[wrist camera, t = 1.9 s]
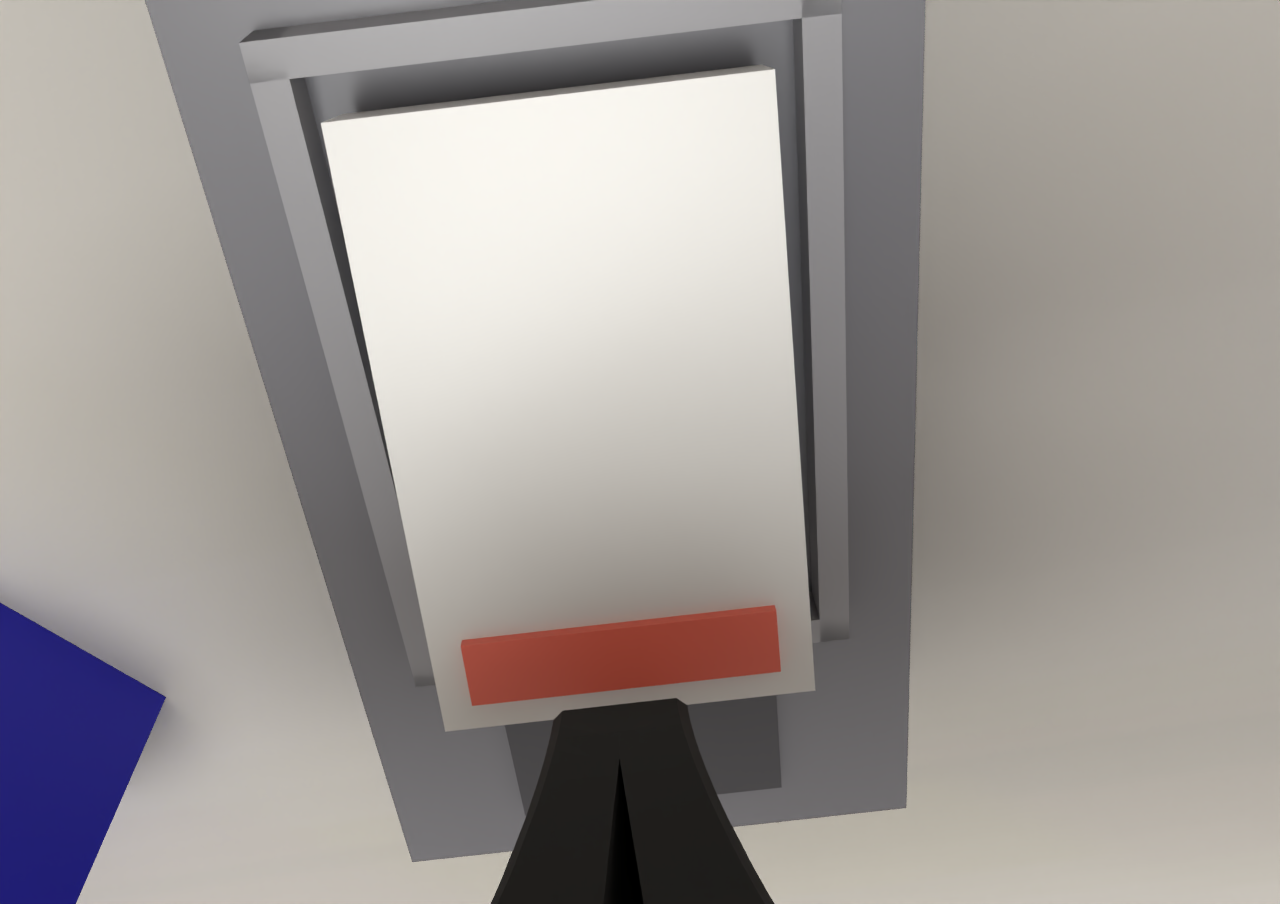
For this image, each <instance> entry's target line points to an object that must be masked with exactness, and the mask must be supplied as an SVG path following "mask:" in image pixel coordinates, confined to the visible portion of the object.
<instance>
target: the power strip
mask: <svg viewBox="0 0 1280 904" xmlns="http://www.w3.org/2000/svg"><path fill="white" fill-rule="evenodd" d="M145 2H146V5H147V8H148V11H149V15H150V18H151V21H152V24H153V27H154V31H155V34H156V37H157V40H158V44H159V47H160V50H161V53H162V57H163V60H164V63H165V66H166V69H167V73H168V76H169V79H170V82H171V86H172V89H173V92H174V95H175V98H176V102H177V105H178V108H179V111H180V115H181V118H182V121H183V124H184V127H185V131H186V134H187V137H188V140H189V144H190V147H191V150H192V153H193V156H194V160H195V163H196V166H197V169H198V173H199V176H200V179H201V182H202V185H203V189H204V192H205V195H206V198H207V202H208V205H209V208H210V211H211V214H212V218H213V221H214V224H215V227H216V231H217V234H218V237H219V240H220V243H221V247H222V250H223V253H224V256H225V260H226V263H227V266H228V269H229V273H230V276H231V279H232V282H233V285H234V289H235V292H236V295H237V298H238V302H239V305H240V308H241V311H242V314H243V318H244V321H245V324H246V327H247V331H248V334H249V337H250V340H251V343H252V347H253V350H254V353H255V356H256V360H257V363H258V366H259V369H260V372H261V376H262V379H263V382H264V385H265V389H266V392H267V395H268V398H269V401H270V405H271V408H272V411H273V414H274V418H275V421H276V424H277V427H278V430H279V434H280V437H281V440H282V443H283V447H284V450H285V453H286V456H287V460H288V463H289V466H290V469H291V472H292V476H293V479H294V482H295V485H296V489H297V492H298V495H299V498H300V501H301V505H302V508H303V511H304V514H305V518H306V521H307V524H308V527H309V530H310V534H311V537H312V540H313V543H314V547H315V550H316V553H317V556H318V559H319V563H320V566H321V569H322V572H323V576H324V579H325V582H326V585H327V588H328V592H329V595H330V598H331V601H332V605H333V608H334V611H335V614H336V617H337V621H338V624H339V627H340V630H341V634H342V637H343V640H344V643H345V647H346V650H347V653H348V656H349V659H350V663H351V666H352V669H353V672H354V676H355V679H356V682H357V685H358V688H359V692H360V695H361V698H362V701H363V705H364V708H365V711H366V714H367V717H368V721H369V724H370V727H371V730H372V734H373V737H374V740H375V743H376V746H377V750H378V753H379V756H380V759H381V763H382V766H383V769H384V772H385V775H386V779H387V782H388V785H389V788H390V792H391V795H392V798H393V801H394V804H395V808H396V811H397V814H398V817H399V821H400V824H401V827H402V830H403V833H404V837H405V840H406V843H407V846H408V850H409V853H410V856H411V859H412V862H417V861H426V860H435V859H445V858H454V857H463V856H472V855H481V854H490V853H499V852H508V851H513V849H514V846H515V844H516V841H517V839H518V836H519V834H520V831H521V828H522V826H523V823H524V821H525V818H526V815H527V812H528V809H529V806H530V803H531V800H532V797H533V795H534V792H535V789H536V786H537V782H538V779H539V776H540V773H541V769H542V766H543V763H544V759H545V755H546V751H547V747H548V744H549V740H550V735H551V730H552V725H553V720H546V721H537V722H528V723H519V724H510V725H501V726H492V727H483V728H474V729H465V730H456V731H447V732H445V728H444V723H443V718H442V713H441V708H440V703H439V698H438V694H437V689H436V684H435V679H434V674H433V669H432V664H431V659H430V654H429V650H428V645H427V640H426V635H425V630H424V625H423V620H422V615H421V611H420V606H419V601H418V596H417V591H416V586H415V581H414V576H413V571H412V567H411V562H410V557H409V552H408V547H407V542H406V537H405V532H404V527H403V523H402V518H401V513H400V508H399V503H398V498H397V493H396V488H395V484H394V479H393V474H392V469H391V464H390V459H389V454H388V449H387V444H386V440H385V435H384V430H383V425H382V420H381V415H380V410H379V405H378V400H377V396H376V391H375V386H374V381H373V376H372V371H371V366H370V361H369V356H368V352H367V347H366V342H365V337H364V332H363V327H362V322H361V317H360V313H359V308H358V303H357V298H356V293H355V288H354V283H353V278H352V273H351V269H350V264H349V259H348V254H347V249H346V244H345V239H344V234H343V229H342V225H341V220H340V215H339V210H338V205H337V200H336V195H335V190H334V185H333V181H332V176H331V171H330V166H329V161H328V156H327V151H326V146H325V142H324V137H323V132H322V127H321V123H322V122H324V121H327V120H329V119H332V118H334V117H337V116H339V115H342V114H347V113H356V112H364V111H372V110H381V109H389V108H398V107H406V106H415V105H423V104H432V103H440V102H449V101H457V100H465V99H474V98H482V97H491V96H499V95H508V94H516V93H525V92H533V91H541V90H550V89H558V88H567V87H575V86H584V85H592V84H601V83H609V82H618V81H626V80H634V79H643V78H651V77H660V76H668V75H677V74H685V73H694V72H702V71H710V70H719V69H727V68H736V67H744V66H753V65H761V64H762V65H765V66H767V67H770V68H773V69H775V77H776V92H777V108H778V123H779V139H780V154H781V169H782V185H783V200H784V216H785V231H786V246H787V262H788V277H789V293H790V308H791V323H792V339H793V354H794V370H795V385H796V400H797V416H798V431H799V447H800V462H801V477H802V493H803V508H804V523H805V539H806V554H807V570H808V585H809V600H810V616H811V631H812V647H813V662H814V677H815V691H807V692H798V693H789V694H780V695H771V696H762V697H753V698H744V699H735V700H726V701H717V702H708V703H699V704H690V705H687V706H688V712H689V717H690V721H691V725H692V729H693V732H694V736H695V739H696V742H697V745H698V748H699V751H700V754H701V756H702V759H703V762H704V764H705V767H706V770H707V772H708V774H709V777H710V779H711V781H712V784H713V786H714V788H715V791H716V793H717V796H718V798H719V800H720V802H721V804H722V806H723V808H724V811H725V813H726V815H727V817H728V819H729V821H730V823H731V825H732V827H736V826H745V825H754V824H764V823H773V822H782V821H791V820H800V819H809V818H818V817H827V816H836V815H846V814H855V813H864V812H873V811H882V810H891V809H900V808H906V798H907V756H908V713H909V671H910V628H911V586H912V543H913V501H914V458H915V416H916V373H917V331H918V288H919V246H920V203H921V161H922V118H923V76H924V33H925V0H145Z"/></svg>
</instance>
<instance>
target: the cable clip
mask: <svg viewBox="0 0 1280 904" xmlns="http://www.w3.org/2000/svg"><path fill="white" fill-rule="evenodd" d="M165 698H166V697H165V696H163V695H161V694H159V693H158V692H156V691H154V690H152V689H151V688H149V687H147V686H145V685H144V684H142V683H140V682H138V681H137V680H135V679H133V678H131V677H130V676H128V675H126V674H124V673H123V672H121V671H119V670H117V669H116V668H114V667H112V666H110V665H109V664H107V663H105V662H103V661H102V660H100V659H98V658H96V657H95V656H93V655H91V654H89V653H87V652H86V651H84V650H82V649H80V648H79V647H77V646H75V645H73V644H72V643H70V642H68V641H66V640H65V639H63V638H61V637H59V636H58V635H56V634H54V633H52V632H51V631H49V630H47V629H45V628H44V627H42V626H40V625H38V624H37V623H35V622H33V621H31V620H30V619H28V618H26V617H24V616H23V615H21V614H19V613H17V612H16V611H14V610H12V609H10V608H9V607H7V606H5V605H3V604H2V603H0V904H76V902H77V899H78V897H79V895H80V893H81V890H82V888H83V886H84V883H85V881H86V879H87V877H88V874H89V872H90V870H91V867H92V865H93V863H94V861H95V858H96V856H97V854H98V851H99V849H100V847H101V845H102V842H103V840H104V838H105V835H106V833H107V831H108V829H109V826H110V824H111V822H112V819H113V817H114V815H115V812H116V810H117V808H118V806H119V803H120V801H121V799H122V796H123V794H124V792H125V790H126V787H127V785H128V783H129V780H130V778H131V776H132V774H133V771H134V769H135V767H136V764H137V762H138V760H139V758H140V755H141V753H142V751H143V748H144V746H145V744H146V742H147V739H148V737H149V735H150V732H151V730H152V728H153V726H154V723H155V721H156V719H157V716H158V714H159V712H160V710H161V707H162V705H163V703H164V700H165Z"/></svg>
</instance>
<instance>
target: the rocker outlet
mask: <svg viewBox="0 0 1280 904" xmlns="http://www.w3.org/2000/svg"><path fill="white" fill-rule="evenodd" d="M321 127H322V132H323V137H324V142H325V146H326V151H327V156H328V161H329V166H330V171H331V176H332V181H333V185H334V190H335V195H336V200H337V205H338V210H339V215H340V220H341V225H342V229H343V234H344V239H345V244H346V249H347V254H348V259H349V264H350V269H351V273H352V278H353V283H354V288H355V293H356V298H357V303H358V308H359V313H360V317H361V322H362V327H363V332H364V337H365V342H366V347H367V352H368V356H369V361H370V366H371V371H372V376H373V381H374V386H375V391H376V396H377V400H378V405H379V410H380V415H381V420H382V425H383V430H384V435H385V440H386V444H387V449H388V454H389V459H390V464H391V469H392V474H393V479H394V484H395V488H396V493H397V498H398V503H399V508H400V513H401V518H402V523H403V527H404V532H405V537H406V542H407V547H408V552H409V557H410V562H411V567H412V571H413V576H414V581H415V586H416V591H417V596H418V601H419V606H420V611H421V615H422V620H423V625H424V630H425V635H426V640H427V645H428V650H429V654H430V659H431V664H432V669H433V674H434V679H435V684H436V689H437V694H438V698H439V703H440V708H441V713H442V718H443V723H444V728H445V732H447V731H456V730H465V729H474V728H483V727H492V726H501V725H510V724H519V723H528V722H537V721H546V720H554V719H555V718H556V717H557V716H558V715H559V714H560V713H561V712H562V711H564V710H573V709H582V708H591V707H599V706H608V705H617V704H626V703H635V702H644V701H653V700H662V699H671V698H677V699H679V700H680V701H682V702H683V703H685V704H686V705H690V704H699V703H708V702H717V701H726V700H735V699H744V698H753V697H762V696H771V695H780V694H789V693H798V692H807V691H815V677H814V662H813V647H812V631H811V616H810V600H809V585H808V570H807V554H806V539H805V523H804V508H803V493H802V477H801V462H800V447H799V431H798V416H797V400H796V385H795V370H794V354H793V339H792V323H791V308H790V293H789V277H788V262H787V246H786V231H785V216H784V200H783V185H782V169H781V154H780V139H779V123H778V108H777V92H776V77H775V69H773V68H770V67H767V66H765V65H762V64H761V65H753V66H744V67H736V68H727V69H719V70H710V71H702V72H694V73H685V74H677V75H668V76H660V77H651V78H643V79H634V80H626V81H618V82H609V83H601V84H592V85H584V86H575V87H567V88H558V89H550V90H541V91H533V92H525V93H516V94H508V95H499V96H491V97H482V98H474V99H465V100H457V101H449V102H440V103H432V104H423V105H415V106H406V107H398V108H389V109H381V110H372V111H364V112H356V113H347V114H342V115H339V116H337V117H334V118H332V119H329V120H327V121H324V122H322V123H321Z"/></svg>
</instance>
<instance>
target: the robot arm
mask: <svg viewBox="0 0 1280 904" xmlns="http://www.w3.org/2000/svg"><path fill="white" fill-rule="evenodd" d="M491 904H774V902H773V901H772V899H771V897H770V896H769V894H768V892H767V891H766V889H765V887H764V885H763V883H762V882H761V880H760V878H759V876H758V875H757V873H756V871H755V869H754V867H753V866H752V864H751V862H750V860H749V858H748V856H747V854H746V852H745V850H744V848H743V846H742V844H741V842H740V840H739V838H738V837H737V835H736V833H735V831H734V829H733V827H732V825H731V823H730V821H729V819H728V817H727V815H726V813H725V811H724V808H723V806H722V804H721V802H720V800H719V798H718V796H717V793H716V791H715V788H714V786H713V784H712V781H711V779H710V777H709V774H708V772H707V770H706V767H705V764H704V762H703V759H702V756H701V754H700V751H699V748H698V745H697V742H696V739H695V736H694V732H693V729H692V725H691V721H690V717H689V712H688V706H687V705H686V704H685V703H683V702H682V701H680V700H679V699H677V698H671V699H662V700H653V701H644V702H635V703H626V704H617V705H608V706H599V707H591V708H582V709H573V710H564V711H562V712H561V713H560V714H559V715H558V716H557V717H556V718H555V719H554V720H553V725H552V730H551V735H550V740H549V744H548V747H547V751H546V755H545V759H544V763H543V766H542V769H541V773H540V776H539V779H538V782H537V786H536V789H535V792H534V795H533V797H532V800H531V803H530V806H529V809H528V812H527V815H526V818H525V821H524V823H523V826H522V828H521V831H520V834H519V836H518V839H517V841H516V844H515V846H514V849H513V851H512V854H511V857H510V859H509V862H508V864H507V867H506V869H505V872H504V875H503V877H502V879H501V882H500V884H499V886H498V889H497V891H496V893H495V896H494V898H493V900H492V902H491Z"/></svg>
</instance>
